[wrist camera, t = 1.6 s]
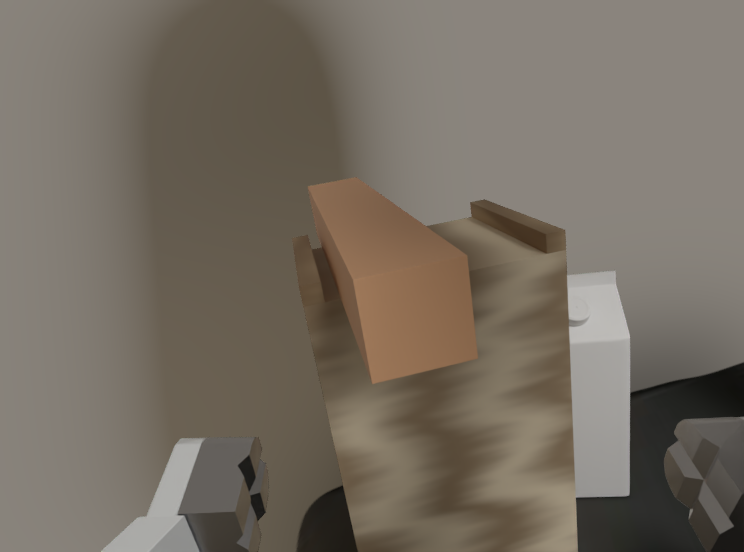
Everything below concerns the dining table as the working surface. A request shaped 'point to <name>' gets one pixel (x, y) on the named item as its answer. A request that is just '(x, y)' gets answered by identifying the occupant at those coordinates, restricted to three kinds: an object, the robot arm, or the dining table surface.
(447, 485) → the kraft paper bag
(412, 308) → the bar
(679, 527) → the dining table surface
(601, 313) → the milk carton
